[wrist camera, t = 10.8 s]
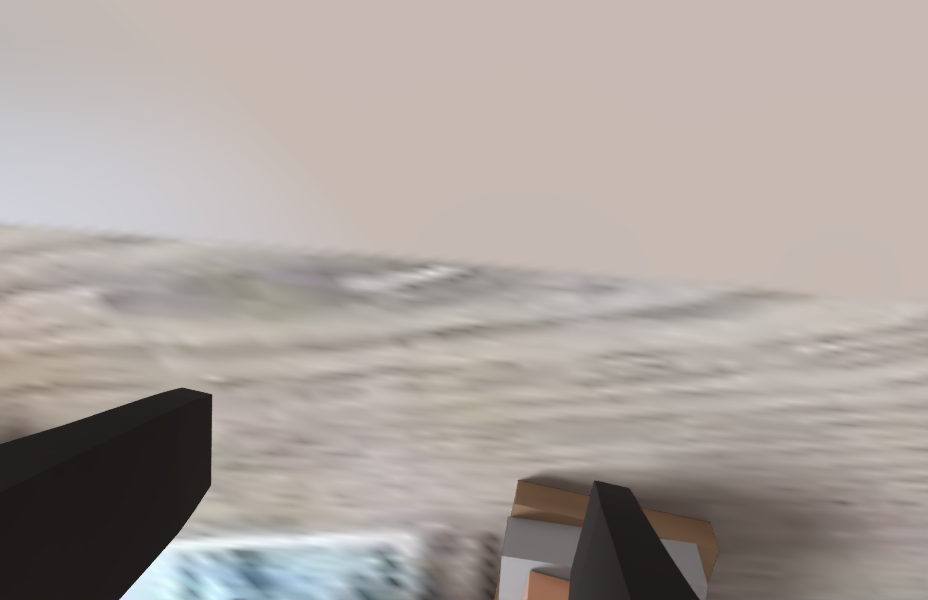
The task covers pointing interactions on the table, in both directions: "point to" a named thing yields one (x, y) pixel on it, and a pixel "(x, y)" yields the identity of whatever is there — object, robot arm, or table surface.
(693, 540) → the walnut slab
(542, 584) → the terracotta block
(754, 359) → the table surface
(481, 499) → the table surface
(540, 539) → the slate slab
